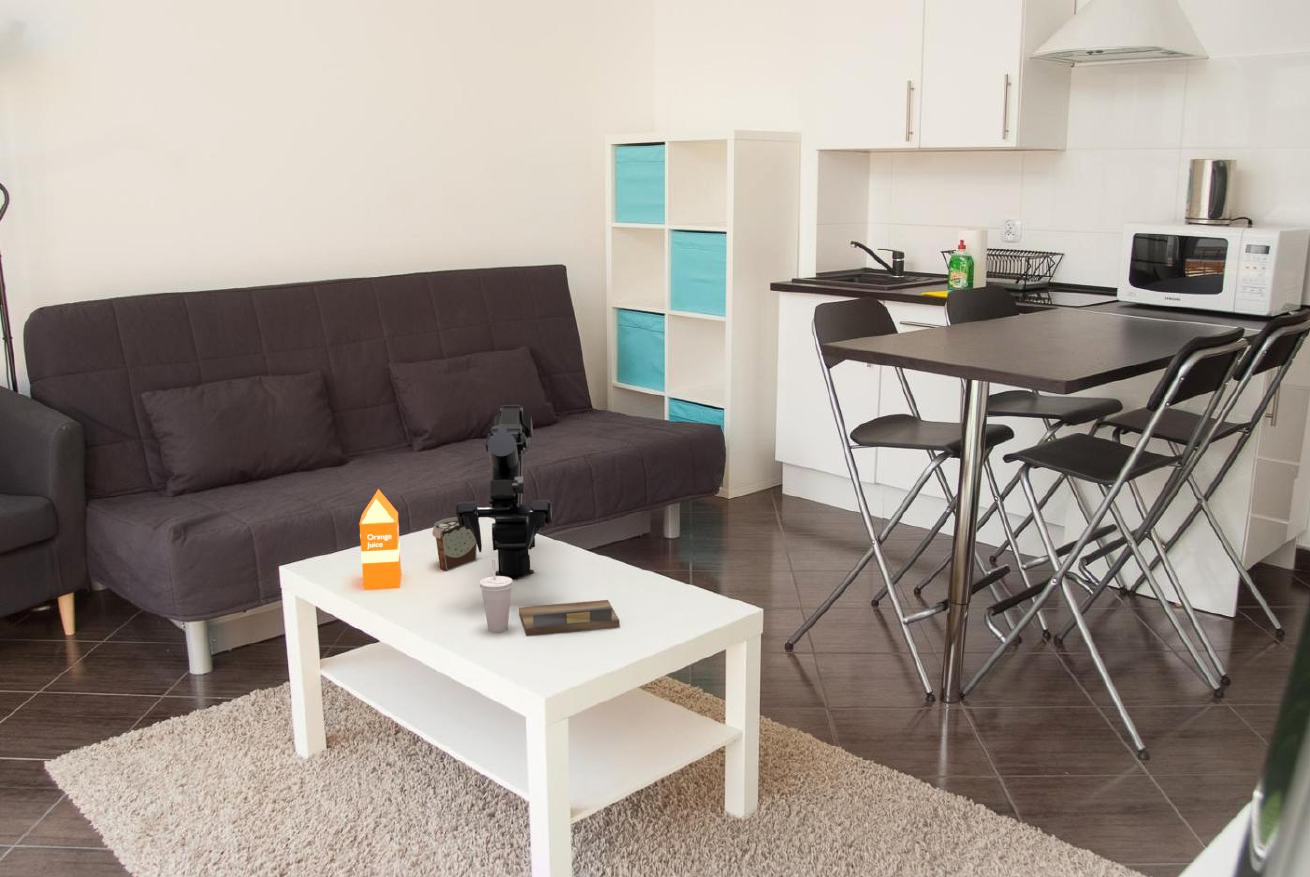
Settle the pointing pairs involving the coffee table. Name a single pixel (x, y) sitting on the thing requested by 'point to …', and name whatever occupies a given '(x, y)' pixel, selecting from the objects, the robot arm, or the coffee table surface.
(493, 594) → the smoothie
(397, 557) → the orange juice
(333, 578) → the coffee table surface
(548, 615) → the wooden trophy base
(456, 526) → the brown cake slice
